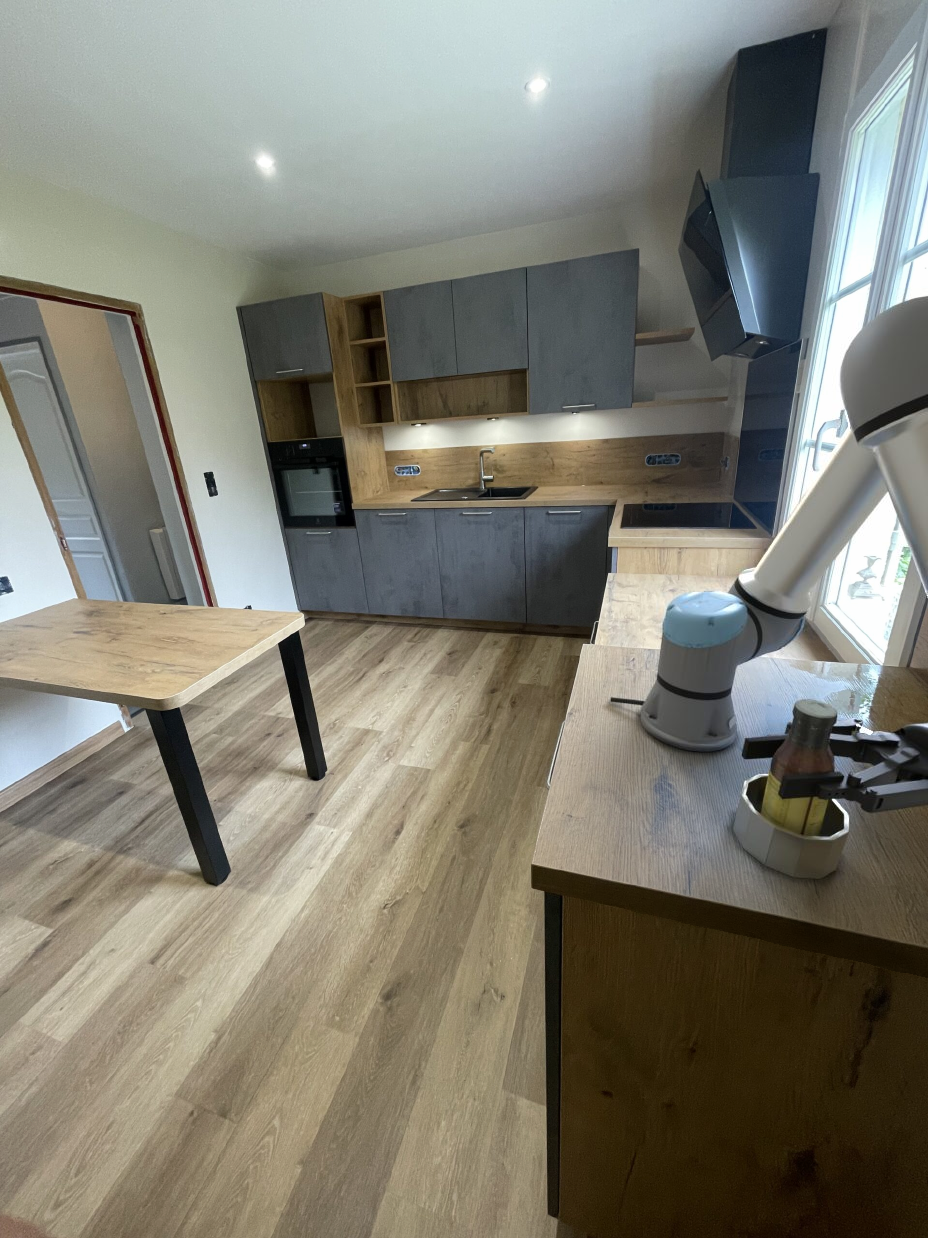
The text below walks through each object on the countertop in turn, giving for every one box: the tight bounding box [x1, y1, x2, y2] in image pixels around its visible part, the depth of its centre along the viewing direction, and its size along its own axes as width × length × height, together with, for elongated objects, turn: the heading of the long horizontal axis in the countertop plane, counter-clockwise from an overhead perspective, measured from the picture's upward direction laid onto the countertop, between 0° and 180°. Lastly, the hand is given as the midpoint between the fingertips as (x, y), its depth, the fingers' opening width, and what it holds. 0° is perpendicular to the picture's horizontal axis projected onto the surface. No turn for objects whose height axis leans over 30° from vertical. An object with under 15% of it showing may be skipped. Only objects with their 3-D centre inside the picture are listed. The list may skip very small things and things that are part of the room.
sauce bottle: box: [760, 698, 839, 836], centre depth 58 cm, size 7×6×20 cm
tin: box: [732, 773, 850, 880], centre depth 61 cm, size 11×11×6 cm
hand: (763, 767), depth 57 cm, fingers closed on sauce bottle, 6 cm apart
